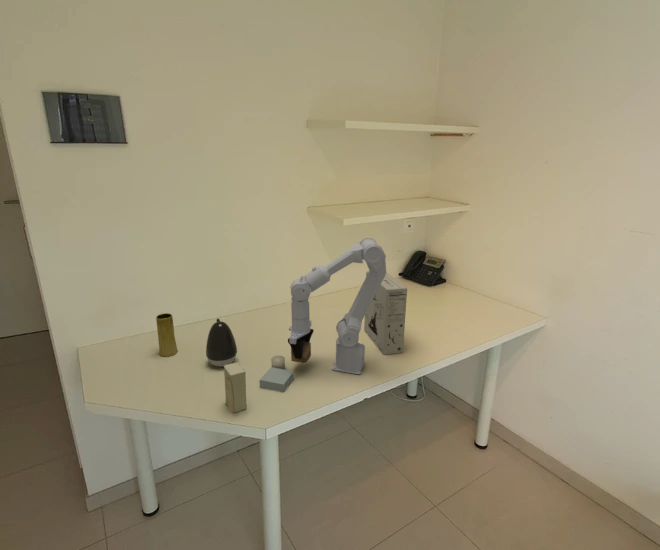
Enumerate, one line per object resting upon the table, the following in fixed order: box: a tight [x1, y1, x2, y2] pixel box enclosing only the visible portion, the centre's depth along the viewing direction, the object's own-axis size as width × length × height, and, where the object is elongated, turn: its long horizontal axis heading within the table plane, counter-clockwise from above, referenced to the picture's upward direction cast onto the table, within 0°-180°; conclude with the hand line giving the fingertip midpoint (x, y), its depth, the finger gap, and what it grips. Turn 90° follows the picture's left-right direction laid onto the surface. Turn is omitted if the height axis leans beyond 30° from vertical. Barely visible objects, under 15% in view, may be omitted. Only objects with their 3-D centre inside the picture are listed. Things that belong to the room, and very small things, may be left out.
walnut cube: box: [290, 342, 312, 364], centre depth 134 cm, size 5×5×5 cm
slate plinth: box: [259, 366, 295, 393], centre depth 127 cm, size 8×8×3 cm
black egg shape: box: [205, 318, 238, 368], centre depth 137 cm, size 10×10×15 cm
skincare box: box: [223, 361, 247, 414], centre depth 114 cm, size 6×4×12 cm
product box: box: [363, 270, 408, 356], centre depth 153 cm, size 22×8×25 cm, turn 14°
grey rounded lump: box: [270, 355, 286, 370], centre depth 135 cm, size 4×4×4 cm
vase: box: [155, 312, 179, 357], centre depth 144 cm, size 6×6×14 cm
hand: (301, 354), depth 135 cm, fingers closed on walnut cube, 5 cm apart
